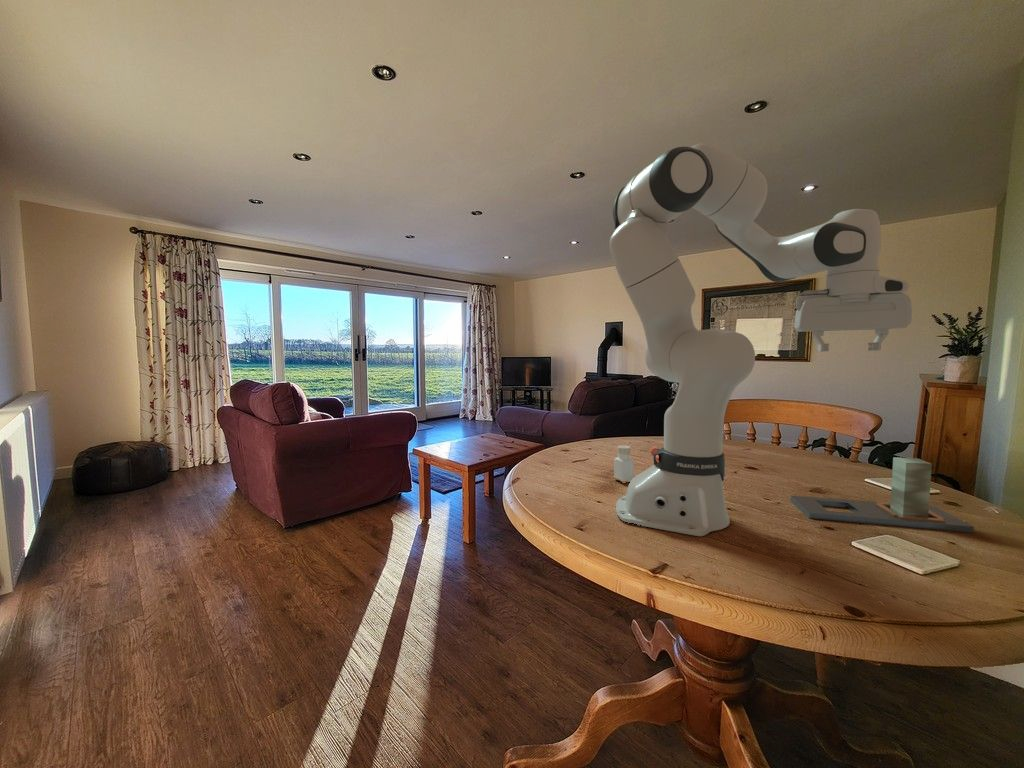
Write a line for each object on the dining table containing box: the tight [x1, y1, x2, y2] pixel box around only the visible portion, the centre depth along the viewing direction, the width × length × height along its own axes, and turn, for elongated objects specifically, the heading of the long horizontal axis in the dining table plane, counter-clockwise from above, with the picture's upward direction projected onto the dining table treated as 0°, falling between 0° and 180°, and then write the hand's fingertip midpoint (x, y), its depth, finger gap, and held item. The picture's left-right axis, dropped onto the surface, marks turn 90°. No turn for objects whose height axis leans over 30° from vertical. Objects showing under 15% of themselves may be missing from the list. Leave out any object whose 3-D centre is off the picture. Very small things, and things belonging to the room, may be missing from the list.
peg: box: [890, 456, 933, 518], centre depth 79 cm, size 4×4×12 cm
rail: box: [789, 495, 975, 534], centre depth 81 cm, size 26×10×2 cm, turn 73°
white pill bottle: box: [613, 444, 635, 481], centre depth 105 cm, size 4×4×10 cm
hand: (848, 351), depth 87 cm, fingers open, 8 cm apart
